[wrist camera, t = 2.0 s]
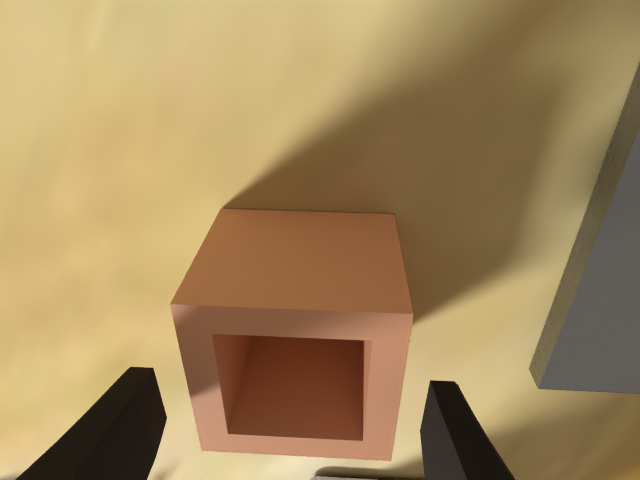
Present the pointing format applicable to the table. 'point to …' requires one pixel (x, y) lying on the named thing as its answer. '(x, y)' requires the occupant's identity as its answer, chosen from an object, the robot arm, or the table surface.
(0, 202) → the table surface
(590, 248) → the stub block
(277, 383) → the collar
